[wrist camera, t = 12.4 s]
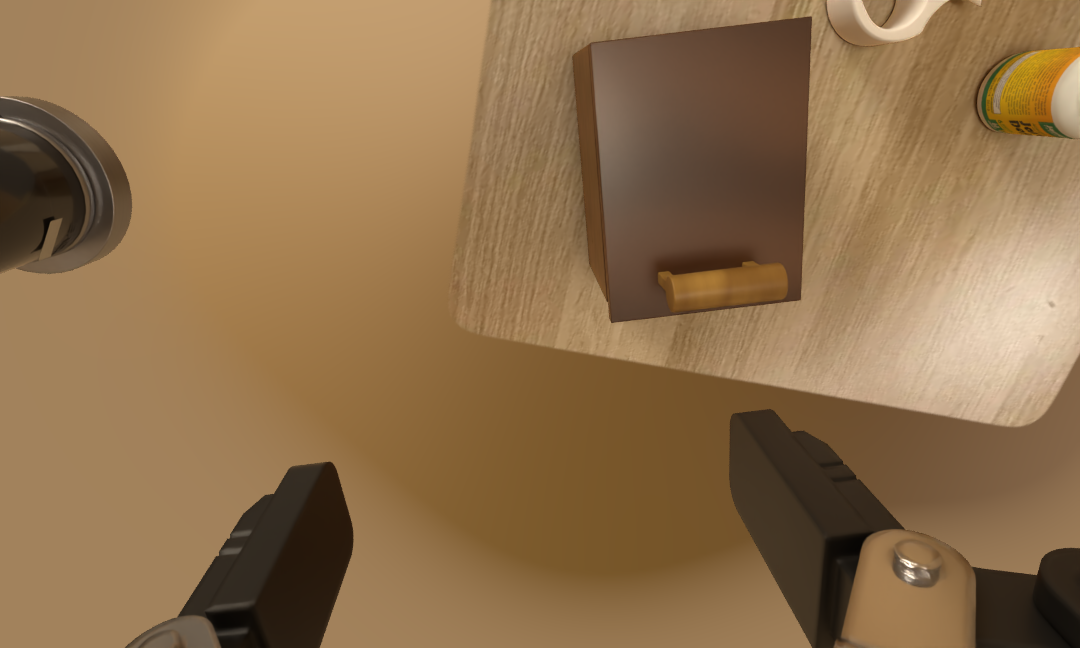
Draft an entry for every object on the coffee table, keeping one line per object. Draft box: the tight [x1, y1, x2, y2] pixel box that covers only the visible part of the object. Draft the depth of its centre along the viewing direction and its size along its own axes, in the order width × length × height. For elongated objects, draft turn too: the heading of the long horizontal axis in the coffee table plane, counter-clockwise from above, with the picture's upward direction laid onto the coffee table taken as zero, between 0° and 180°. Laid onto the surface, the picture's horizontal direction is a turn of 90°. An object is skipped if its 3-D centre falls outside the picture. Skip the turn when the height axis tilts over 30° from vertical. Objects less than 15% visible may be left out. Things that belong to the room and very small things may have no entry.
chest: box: [572, 45, 608, 302], centre depth 38 cm, size 15×12×9 cm
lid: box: [588, 17, 812, 323], centre depth 31 cm, size 16×12×5 cm
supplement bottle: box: [977, 47, 1080, 139], centre depth 37 cm, size 5×5×10 cm
